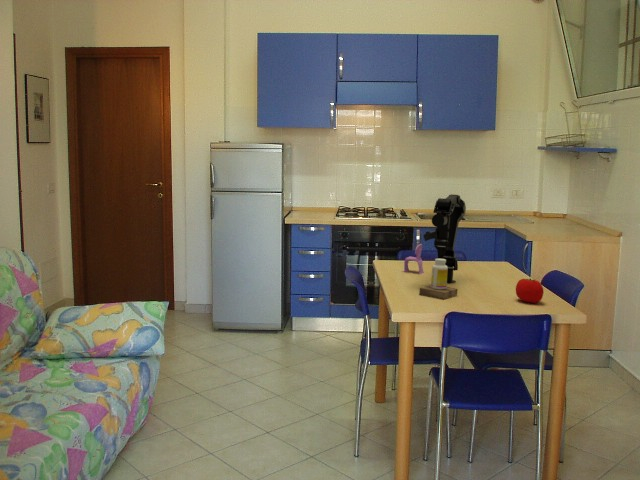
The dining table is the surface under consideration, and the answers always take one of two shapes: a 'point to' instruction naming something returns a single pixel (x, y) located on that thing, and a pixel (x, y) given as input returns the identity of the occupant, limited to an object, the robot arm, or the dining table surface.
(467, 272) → the dining table surface
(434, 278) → the supplement bottle
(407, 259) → the toy chair
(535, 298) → the tomato
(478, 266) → the dining table surface
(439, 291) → the base
